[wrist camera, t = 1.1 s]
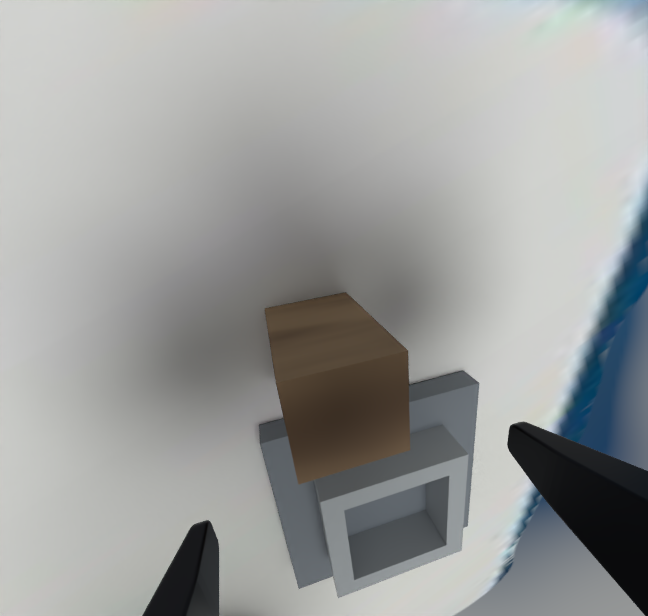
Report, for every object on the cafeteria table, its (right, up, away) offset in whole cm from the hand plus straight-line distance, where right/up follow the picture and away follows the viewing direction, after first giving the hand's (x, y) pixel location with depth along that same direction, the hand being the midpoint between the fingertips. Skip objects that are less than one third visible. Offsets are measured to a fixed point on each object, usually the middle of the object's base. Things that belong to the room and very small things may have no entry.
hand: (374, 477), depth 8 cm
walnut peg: (-2, +3, +8) cm, 9 cm away
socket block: (+2, -7, +13) cm, 15 cm away
